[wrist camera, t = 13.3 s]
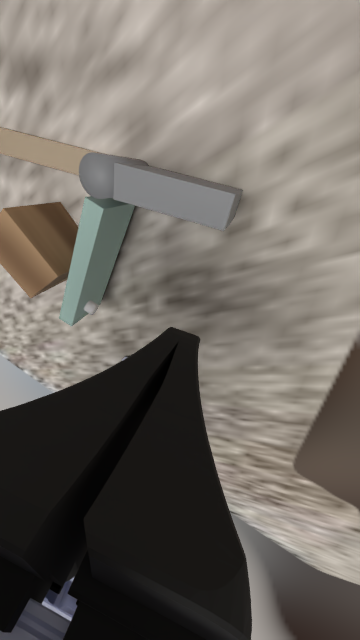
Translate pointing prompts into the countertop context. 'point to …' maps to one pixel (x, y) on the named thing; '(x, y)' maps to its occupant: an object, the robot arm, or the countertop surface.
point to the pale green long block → (94, 255)
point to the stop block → (37, 245)
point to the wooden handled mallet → (130, 180)
